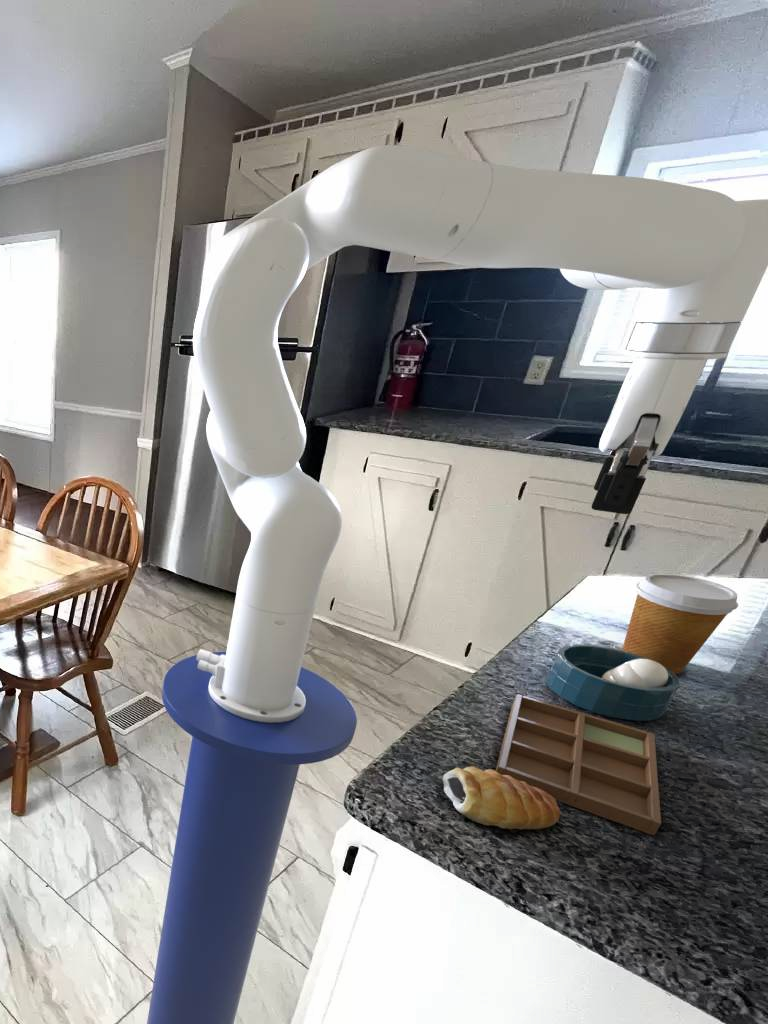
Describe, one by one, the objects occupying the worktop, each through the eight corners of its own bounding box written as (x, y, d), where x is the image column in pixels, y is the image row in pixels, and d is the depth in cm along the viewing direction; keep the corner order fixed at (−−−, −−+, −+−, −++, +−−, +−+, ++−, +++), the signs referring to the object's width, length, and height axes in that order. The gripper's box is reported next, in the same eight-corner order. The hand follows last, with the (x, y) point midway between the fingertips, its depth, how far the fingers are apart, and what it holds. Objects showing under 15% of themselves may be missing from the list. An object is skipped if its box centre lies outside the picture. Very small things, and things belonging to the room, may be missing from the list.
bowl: (541, 701, 82) (555, 668, 80) (547, 666, 90) (561, 635, 87) (663, 736, 75) (682, 701, 73) (659, 695, 83) (676, 663, 80)
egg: (591, 685, 81) (649, 659, 77) (591, 673, 84) (647, 647, 80) (619, 711, 80) (680, 686, 76) (618, 699, 83) (677, 674, 78)
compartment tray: (493, 778, 70) (498, 766, 69) (512, 703, 82) (516, 693, 81) (654, 835, 62) (661, 823, 61) (648, 744, 74) (654, 733, 73)
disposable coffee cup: (694, 659, 90) (735, 583, 85) (704, 688, 84) (749, 607, 78) (603, 639, 96) (637, 566, 91) (606, 665, 89) (643, 588, 84)
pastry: (534, 794, 67) (547, 766, 66) (571, 843, 61) (587, 813, 60) (434, 781, 69) (444, 754, 68) (461, 827, 64) (473, 798, 62)
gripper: (627, 336, 73) (570, 480, 81) (629, 346, 62) (562, 513, 69) (723, 337, 69) (653, 490, 76) (743, 348, 57) (659, 527, 65)
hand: (610, 501), depth 73 cm, fingers open, 9 cm apart
